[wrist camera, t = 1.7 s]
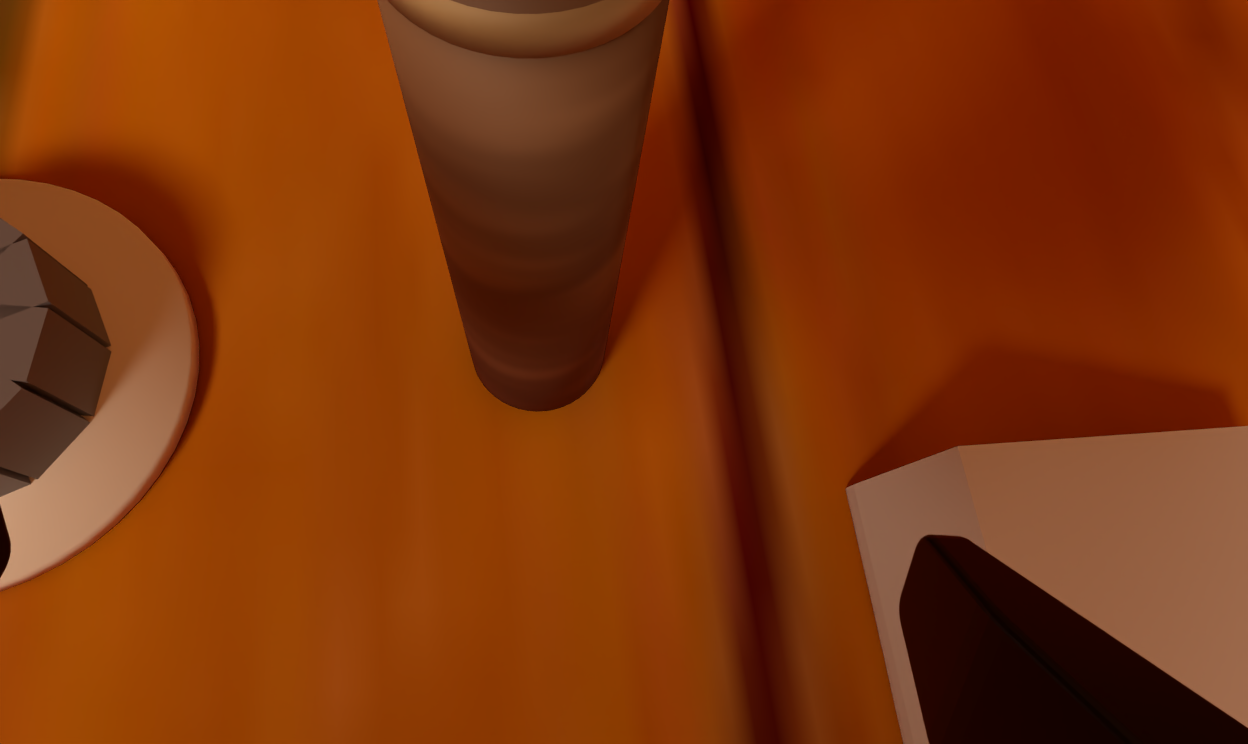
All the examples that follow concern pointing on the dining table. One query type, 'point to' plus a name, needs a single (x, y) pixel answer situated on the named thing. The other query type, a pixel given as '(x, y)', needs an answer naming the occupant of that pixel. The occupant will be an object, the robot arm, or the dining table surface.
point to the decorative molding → (1084, 544)
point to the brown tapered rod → (530, 171)
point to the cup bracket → (83, 371)
